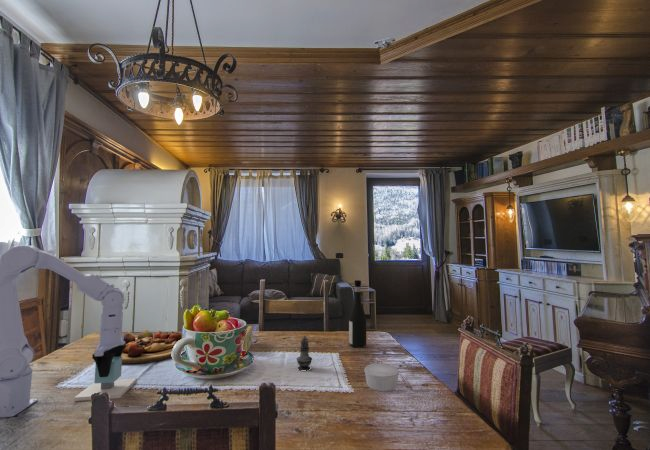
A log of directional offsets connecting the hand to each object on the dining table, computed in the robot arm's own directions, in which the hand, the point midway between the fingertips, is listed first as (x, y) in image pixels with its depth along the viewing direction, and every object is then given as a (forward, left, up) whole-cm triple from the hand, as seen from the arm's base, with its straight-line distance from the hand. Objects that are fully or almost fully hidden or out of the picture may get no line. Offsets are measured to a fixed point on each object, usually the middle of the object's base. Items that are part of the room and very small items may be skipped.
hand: (108, 373), depth 99 cm
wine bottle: (+34, -90, -5) cm, 96 cm away
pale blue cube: (0, 0, -2) cm, 2 cm away
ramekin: (-10, -85, -6) cm, 86 cm away
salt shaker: (+9, -62, -5) cm, 63 cm away
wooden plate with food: (+39, +1, -6) cm, 40 cm away
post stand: (0, 0, -5) cm, 5 cm away
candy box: (+37, -40, -6) cm, 55 cm away
